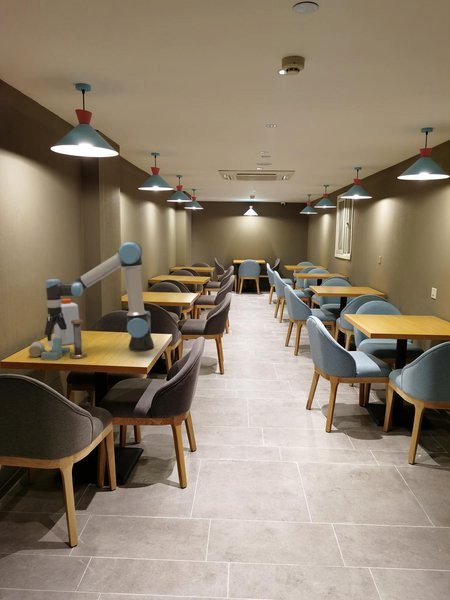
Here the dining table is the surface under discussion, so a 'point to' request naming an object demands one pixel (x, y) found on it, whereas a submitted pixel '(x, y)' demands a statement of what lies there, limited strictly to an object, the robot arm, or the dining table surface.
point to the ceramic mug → (36, 349)
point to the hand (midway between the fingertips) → (56, 343)
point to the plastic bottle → (67, 321)
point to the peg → (57, 345)
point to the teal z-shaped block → (55, 354)
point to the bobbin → (77, 340)
